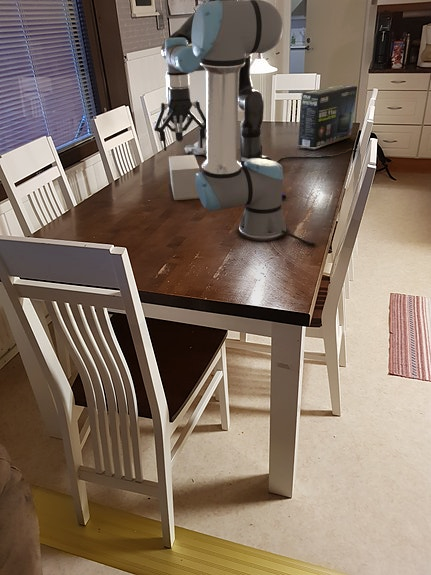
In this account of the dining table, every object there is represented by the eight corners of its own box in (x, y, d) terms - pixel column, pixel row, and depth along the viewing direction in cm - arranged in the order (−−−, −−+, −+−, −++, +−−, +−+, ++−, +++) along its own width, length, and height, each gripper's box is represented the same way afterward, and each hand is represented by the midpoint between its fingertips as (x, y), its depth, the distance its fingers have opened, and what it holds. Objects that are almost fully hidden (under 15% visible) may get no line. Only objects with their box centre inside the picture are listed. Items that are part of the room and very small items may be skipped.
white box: (171, 184, 195) (168, 156, 189) (195, 182, 196) (194, 154, 190) (174, 200, 178) (171, 170, 172) (201, 198, 179) (199, 168, 173)
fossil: (208, 150, 224) (188, 131, 227) (198, 168, 231) (178, 149, 234) (228, 148, 238) (208, 130, 241) (217, 165, 244) (198, 147, 248)
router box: (314, 151, 231) (318, 94, 217) (296, 148, 237) (299, 92, 224) (352, 138, 251) (358, 85, 238) (335, 135, 258) (340, 83, 245)
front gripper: (212, 84, 166) (214, 143, 177) (143, 88, 163) (149, 148, 174) (215, 87, 159) (217, 148, 170) (143, 91, 157) (150, 153, 168)
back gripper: (191, 94, 186) (194, 138, 195) (159, 96, 185) (163, 140, 194) (193, 97, 180) (196, 142, 189) (159, 99, 178) (164, 144, 187)
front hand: (183, 148), depth 172 cm, fingers open, 13 cm apart
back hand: (179, 141), depth 191 cm, fingers closed
